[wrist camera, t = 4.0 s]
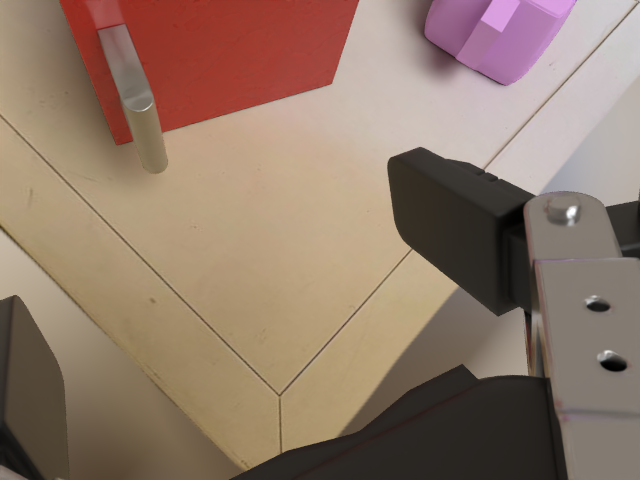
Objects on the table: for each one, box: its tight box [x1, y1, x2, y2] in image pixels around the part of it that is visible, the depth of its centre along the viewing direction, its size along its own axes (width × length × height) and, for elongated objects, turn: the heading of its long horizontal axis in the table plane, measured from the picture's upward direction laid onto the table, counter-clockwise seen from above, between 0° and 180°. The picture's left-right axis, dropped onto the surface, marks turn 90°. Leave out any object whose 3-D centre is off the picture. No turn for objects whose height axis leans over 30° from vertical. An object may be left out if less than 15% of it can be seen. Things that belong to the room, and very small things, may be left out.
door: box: [59, 0, 359, 174], centre depth 36 cm, size 6×18×16 cm, turn 113°
